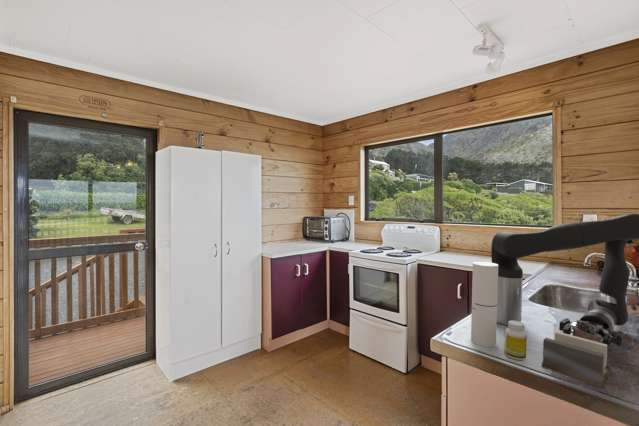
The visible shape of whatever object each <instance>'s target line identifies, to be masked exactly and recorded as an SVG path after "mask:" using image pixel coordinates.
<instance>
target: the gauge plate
mask: <svg viewBox="0 0 639 426" xmlns="http://www.w3.org/2000/svg"><path fill="white" fill-rule="evenodd" d="M554 340H556V341H560V342H563V343H567V344H570V345H574V346H577V347H581V348H584V349H588V350H591V351H595V352H599V353H602V354H604V360H603V368H604V369H605V368H606V369H609V367H610V366H608V365H607V359H608V358H607V357H608V346H607V344H603V342H601V343H599V342H595V341H592V340H588V339H584V338H580V337H576V336H573V334H570V335H569V334H565V333H563V332H562V331H558V330H556V331H555V332H554Z"/></svg>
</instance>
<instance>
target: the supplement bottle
mask: <svg viewBox="0 0 639 426" xmlns="http://www.w3.org/2000/svg"><path fill="white" fill-rule="evenodd" d="M527 343H528V334H527V332H526V331H525V323H524V322H523V321H521V322H519V321H513V320H511V321H508V325H507V328H505V331H504V355H505V356H506V357H508V358H509V359H512V360H514V361H515V360H516V361H524V360H526V359H527V346H528V344H527Z"/></svg>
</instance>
